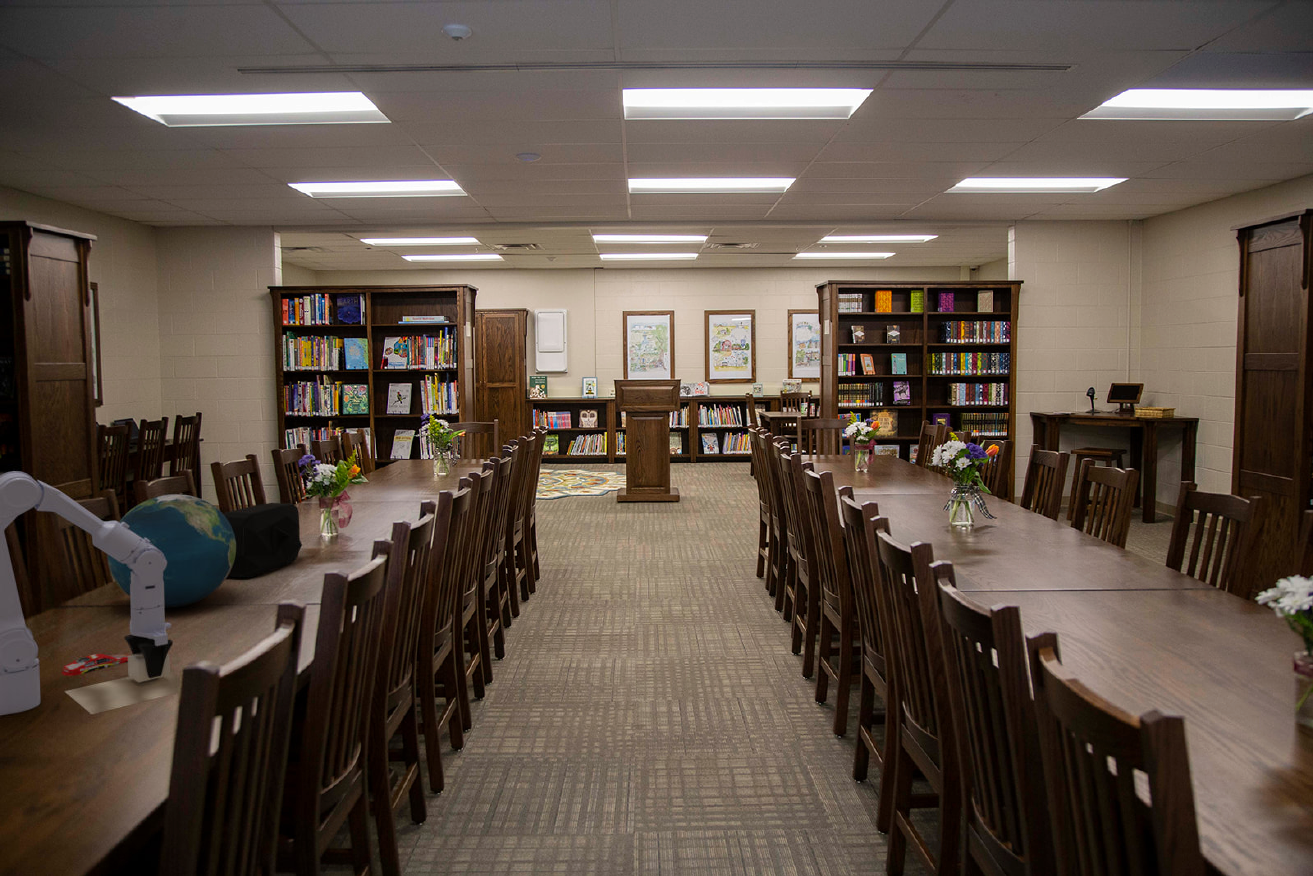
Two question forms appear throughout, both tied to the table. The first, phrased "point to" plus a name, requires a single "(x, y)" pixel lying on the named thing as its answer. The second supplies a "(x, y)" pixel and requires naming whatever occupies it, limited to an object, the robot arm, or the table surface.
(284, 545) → the black hard case
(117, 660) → the race car
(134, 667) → the toy microwave
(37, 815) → the table surface
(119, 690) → the switch board
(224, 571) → the globe
